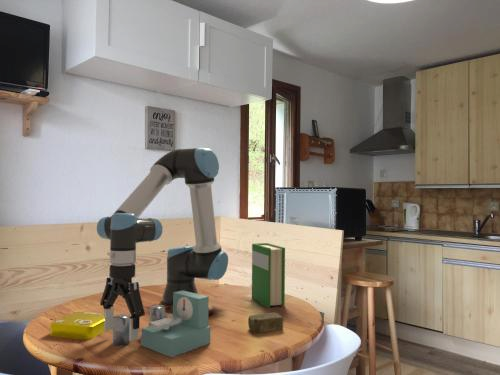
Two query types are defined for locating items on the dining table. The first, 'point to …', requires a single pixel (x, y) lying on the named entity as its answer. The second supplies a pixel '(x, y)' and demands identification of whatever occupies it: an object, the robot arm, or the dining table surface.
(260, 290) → the hardback book
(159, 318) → the cylinder
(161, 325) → the platform
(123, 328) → the cylinder
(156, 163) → the robot arm
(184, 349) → the scale body
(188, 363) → the dining table surface
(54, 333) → the element tile
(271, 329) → the stone block
